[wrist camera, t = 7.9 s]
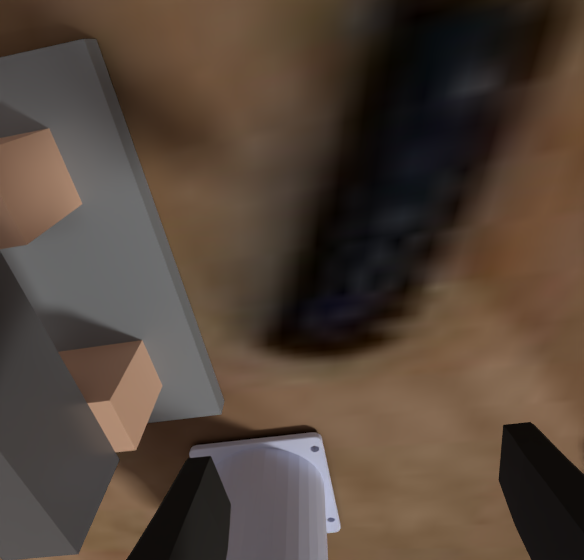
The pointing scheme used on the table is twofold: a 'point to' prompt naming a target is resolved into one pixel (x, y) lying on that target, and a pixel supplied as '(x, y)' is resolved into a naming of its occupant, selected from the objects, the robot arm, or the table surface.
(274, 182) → the table surface
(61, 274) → the display stand
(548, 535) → the robot arm
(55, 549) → the dark gray bar
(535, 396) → the table surface
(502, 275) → the table surface
